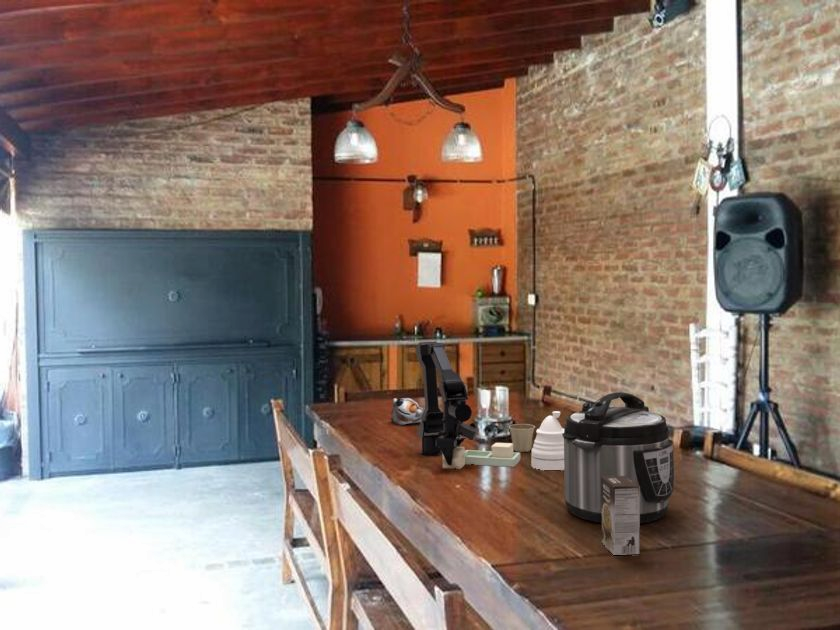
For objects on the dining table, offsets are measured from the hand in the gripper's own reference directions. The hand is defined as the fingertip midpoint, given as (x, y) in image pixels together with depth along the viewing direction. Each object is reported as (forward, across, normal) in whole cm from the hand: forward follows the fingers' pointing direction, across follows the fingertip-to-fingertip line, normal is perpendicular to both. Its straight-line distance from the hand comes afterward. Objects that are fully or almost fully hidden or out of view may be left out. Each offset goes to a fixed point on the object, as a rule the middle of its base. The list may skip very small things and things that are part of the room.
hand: (452, 462), depth 276 cm
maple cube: (+1, 0, 0) cm, 1 cm away
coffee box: (-1, -69, -60) cm, 91 cm away
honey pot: (+1, +7, -32) cm, 32 cm away
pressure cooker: (0, -40, -57) cm, 70 cm away
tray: (+1, +8, -10) cm, 13 cm away
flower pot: (+2, +28, -18) cm, 33 cm away
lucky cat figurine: (+3, +69, +40) cm, 80 cm away
